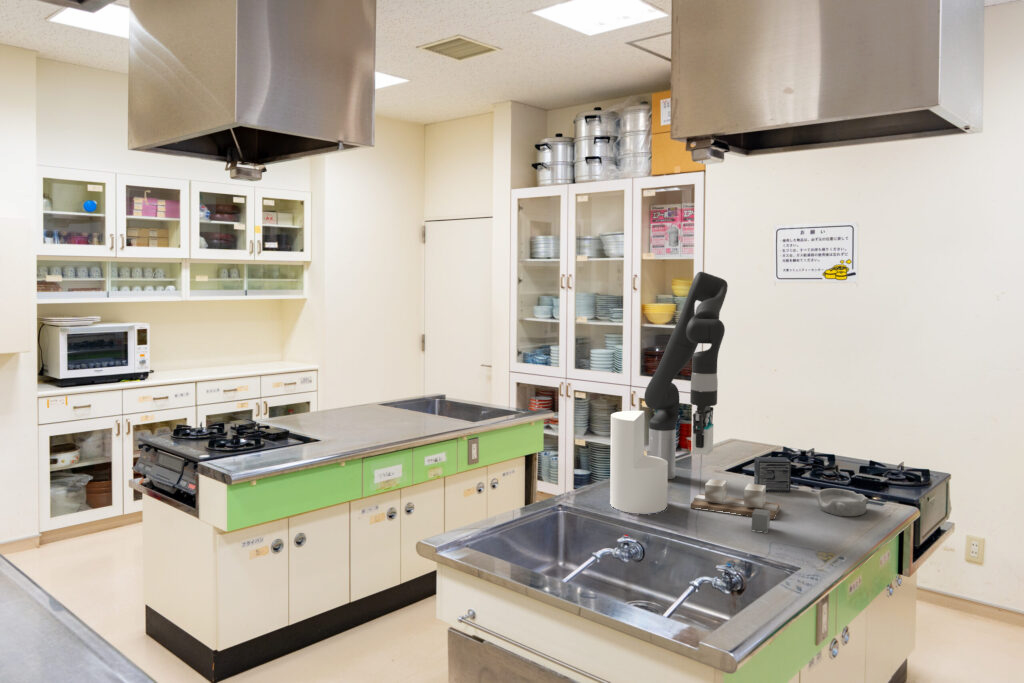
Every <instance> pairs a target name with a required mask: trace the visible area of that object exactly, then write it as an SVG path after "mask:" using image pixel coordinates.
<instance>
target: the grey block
mask: <svg viewBox="0 0 1024 683" xmlns="http://www.w3.org/2000/svg"><path fill="white" fill-rule="evenodd" d="M770 521H771V520H770V511H769V510H761V509H755V510H754V511H753V513H752V517H751V531H752V530H755V531H762V532H767V531H768V532H769V530H770V528H771V524H770V523H771V522H770ZM769 527H770V528H769ZM768 529H769V530H768ZM768 532H767V533H768Z"/></svg>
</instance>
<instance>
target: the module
mask: <svg viewBox="0 0 1024 683" xmlns="http://www.w3.org/2000/svg"><path fill="white" fill-rule="evenodd" d="M698 430H700V427H698ZM691 442H692V444H691V448H692V449H691V450H692V451H691V454H693V455H694V454H695V455H703V456H709V455H710V454H711V453H712V452H713V451H714V423H712V424H707V427H705V434H704V447H703V448H697V447H696V435H695V434H694V433H693V432H692V441H691Z"/></svg>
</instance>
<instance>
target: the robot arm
mask: <svg viewBox="0 0 1024 683" xmlns="http://www.w3.org/2000/svg"><path fill="white" fill-rule="evenodd" d="M728 288H729V286H728V282H727V280H725V279H724V278H721V277H719V276H716V275H713V274H710V273H707V272H704V271H699V272H697V273H696V275H695V276H694V278H693V280H692V283H691V285H690V287H689V289H688V293H687V296H686V298H685V302H684V304H683V308H682V310H681V313H680V315H679V317H678V320H677V322H676V324H675V326H674V328H673V330H672V333H671V335H670V338H669V340H668V342H667V345H666V347H665V350H664V351H663V352H664V353H663V355H662V357H661V359H660V362H659V364H658V366H657V368H656V370H655V372H654V374H653V375H652V377H651V379H650V380H649V383H648V384H647V387H646V388H645V392H644V395H643V396H644V398H643V399H644V402H645V405H646V407H647V408H648V409H650V410H651V411H652V410H653V411H656V413H655V415H654V416H652V417H651V418H650V419H649V421H648V449H647V450H646V455H647V456H654V457H659V458H662V459H664V460H666V461H667V462H668V477H667V480H673V479H675V478H676V452H677V451H676V449H677V447H676V444H677V443H676V442H677V439H676V438H677V435H676V434H677V428H676V427H677V423H678V421H679V415H680V413H679V412H680V392H679V389H678V387H677V385H676V384H675V383H673V380H674V379H675V377H676V376H677V375H678V374H679V373H680V372H681V371H682V370H683V369H684V368H685V367H686V366H687V364H689V362H690V361H691V377H690V395H689V396H690V397H689V400H690V401H689V403H690V404H691V405H693V406H696V410H695V411H694V413H693V414H692V434H693V433H694V434H695V435H696V447H697V448H703V447H704V434H705V427H707V424H713V417H714V406H716V405H717V404H718V387H719V386H718V383H719V382H718V358H719V352H720V348H721V344H722V342H723V340H724V336H725V330H726V328H725V325H724V322H722V321H721V320H720V313H721V309H722V307H723V305H724V302H725V299H726V296H727V292H728ZM697 301H698V302H700V303H699V304H698V305H697V307H696V309H695V304H696V302H697ZM699 344H708V345H709V344H710V347H709V348H708V349H706V350H701V351H696V350H697V347H698V346H699ZM698 427H700V430H698Z"/></svg>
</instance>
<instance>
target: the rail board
mask: <svg viewBox="0 0 1024 683" xmlns="http://www.w3.org/2000/svg"><path fill="white" fill-rule="evenodd" d="M727 483H728V481H727V480H724V479H713V478H710V479H709V480H708V481H706V483H705V484H704V493H699V494H696V495H694V497H693V500H692V502H691V503H690V509H691V508H701V509H708V510H714V511H723V512H730V513H736V514H741V515H748V516H752V513H753V511H754V510H755V509H761V510H769V511H770V519H774V520H775V518H776V516H777V514H778V512H779V510H780V505H781V504H780V503H776V502H769V501H766V497H767V496H766V493H767V492H766V485H758V484H754V483H748V484H747V485H746V486H745V488H744V489H743V491H744V492H743V493H744V494H743V496H744V497H743V498H738V497H737V498H736V497H730V496H729V497H728V496H727V495H728V494H727V492H728V488H727V487H728V486H727V485H728V484H727ZM775 515H776V516H775ZM748 516H747V517H748ZM774 517H775V518H774Z"/></svg>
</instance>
